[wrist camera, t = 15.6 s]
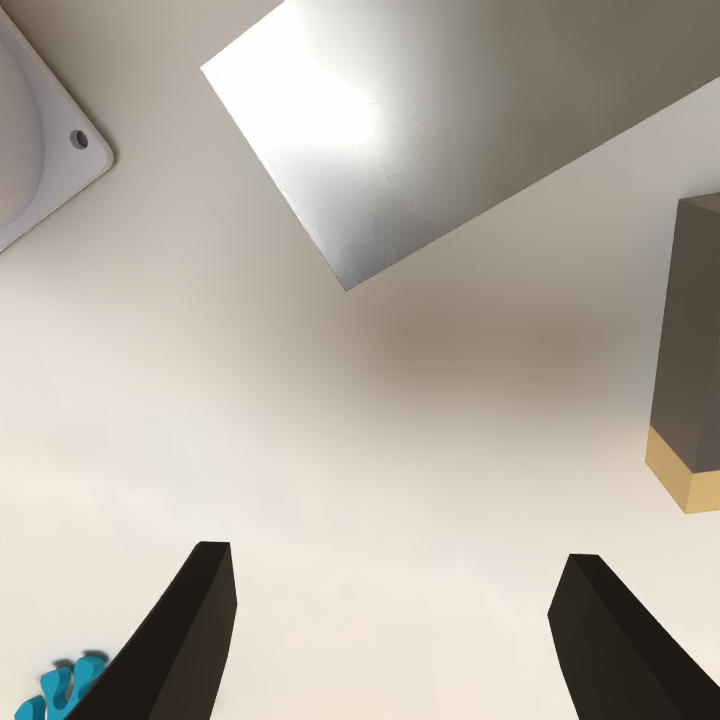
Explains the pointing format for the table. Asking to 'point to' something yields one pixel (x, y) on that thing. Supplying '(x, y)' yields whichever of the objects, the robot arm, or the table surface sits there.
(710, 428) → the grey rectangular bar
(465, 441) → the table surface
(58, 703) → the spiky virus model
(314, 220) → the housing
